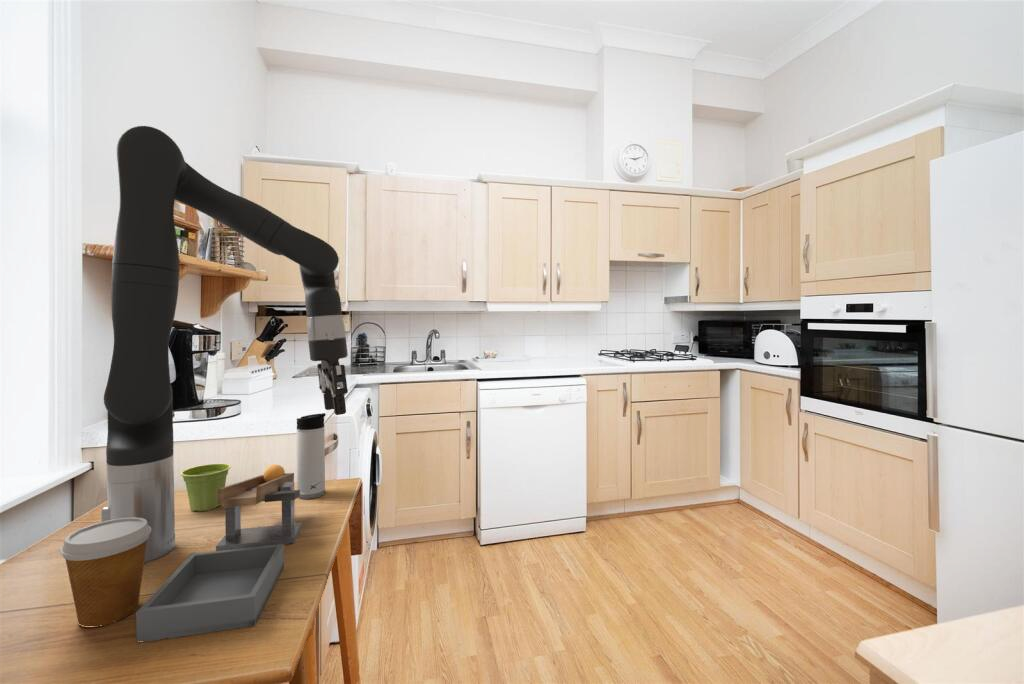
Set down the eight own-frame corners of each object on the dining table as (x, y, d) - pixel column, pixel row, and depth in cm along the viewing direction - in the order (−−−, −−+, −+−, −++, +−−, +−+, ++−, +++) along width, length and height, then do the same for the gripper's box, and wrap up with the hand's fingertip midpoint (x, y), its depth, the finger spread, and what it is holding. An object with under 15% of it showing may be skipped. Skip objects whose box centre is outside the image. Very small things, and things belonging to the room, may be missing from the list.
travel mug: (319, 499, 106) (318, 416, 106) (292, 499, 106) (291, 416, 106) (330, 490, 112) (330, 411, 112) (304, 490, 112) (304, 411, 112)
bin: (136, 643, 57) (136, 612, 57) (191, 578, 72) (191, 553, 72) (254, 625, 60) (254, 596, 60) (283, 567, 75) (283, 543, 75)
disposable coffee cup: (150, 586, 70) (148, 510, 69) (155, 615, 63) (153, 530, 62) (64, 612, 63) (62, 529, 63) (58, 647, 56) (56, 553, 56)
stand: (215, 551, 81) (215, 496, 80) (230, 534, 87) (229, 483, 87) (293, 543, 84) (293, 489, 84) (301, 527, 91) (301, 478, 90)
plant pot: (179, 505, 102) (179, 468, 102) (227, 496, 108) (227, 460, 108) (182, 518, 95) (182, 478, 95) (234, 507, 101) (233, 469, 101)
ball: (260, 484, 92) (262, 464, 93) (265, 485, 95) (267, 466, 97) (281, 482, 93) (283, 462, 94) (285, 483, 96) (287, 464, 98)
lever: (215, 520, 73) (217, 489, 74) (259, 499, 96) (260, 475, 97) (291, 513, 76) (292, 483, 76) (316, 494, 98) (317, 471, 99)
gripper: (301, 339, 99) (310, 411, 100) (315, 338, 88) (324, 419, 88) (336, 336, 103) (344, 405, 104) (354, 335, 92) (362, 412, 93)
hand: (335, 411), depth 96 cm, fingers open, 8 cm apart
